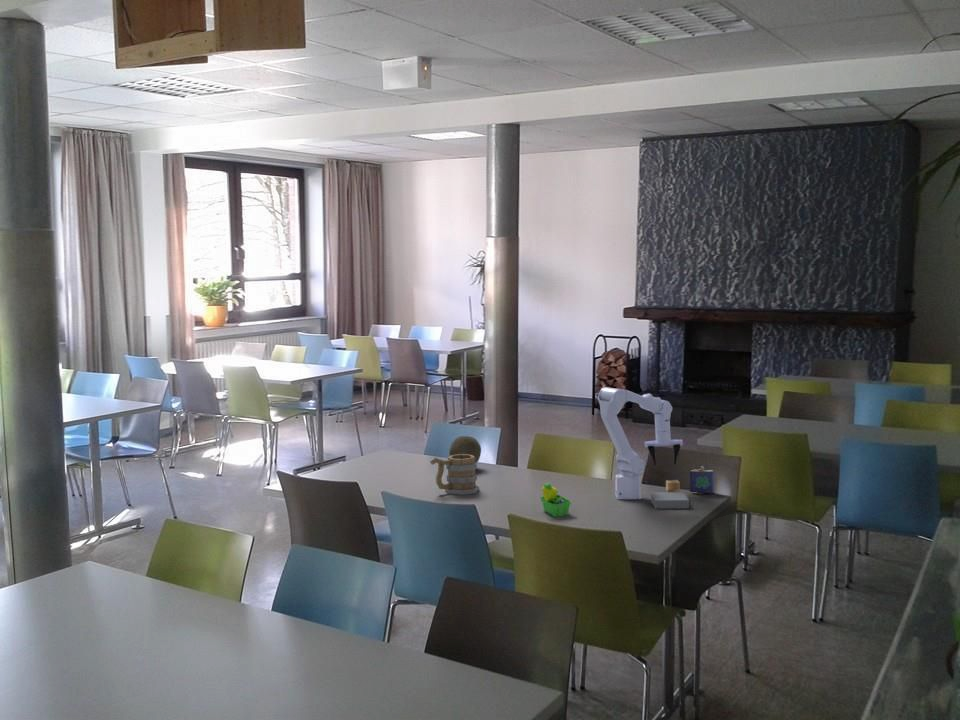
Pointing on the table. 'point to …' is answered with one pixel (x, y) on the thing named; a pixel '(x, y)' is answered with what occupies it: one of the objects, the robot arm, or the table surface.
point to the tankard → (457, 474)
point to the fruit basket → (554, 501)
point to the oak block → (672, 486)
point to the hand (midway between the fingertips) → (664, 464)
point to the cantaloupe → (466, 447)
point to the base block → (669, 500)
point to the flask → (702, 481)
